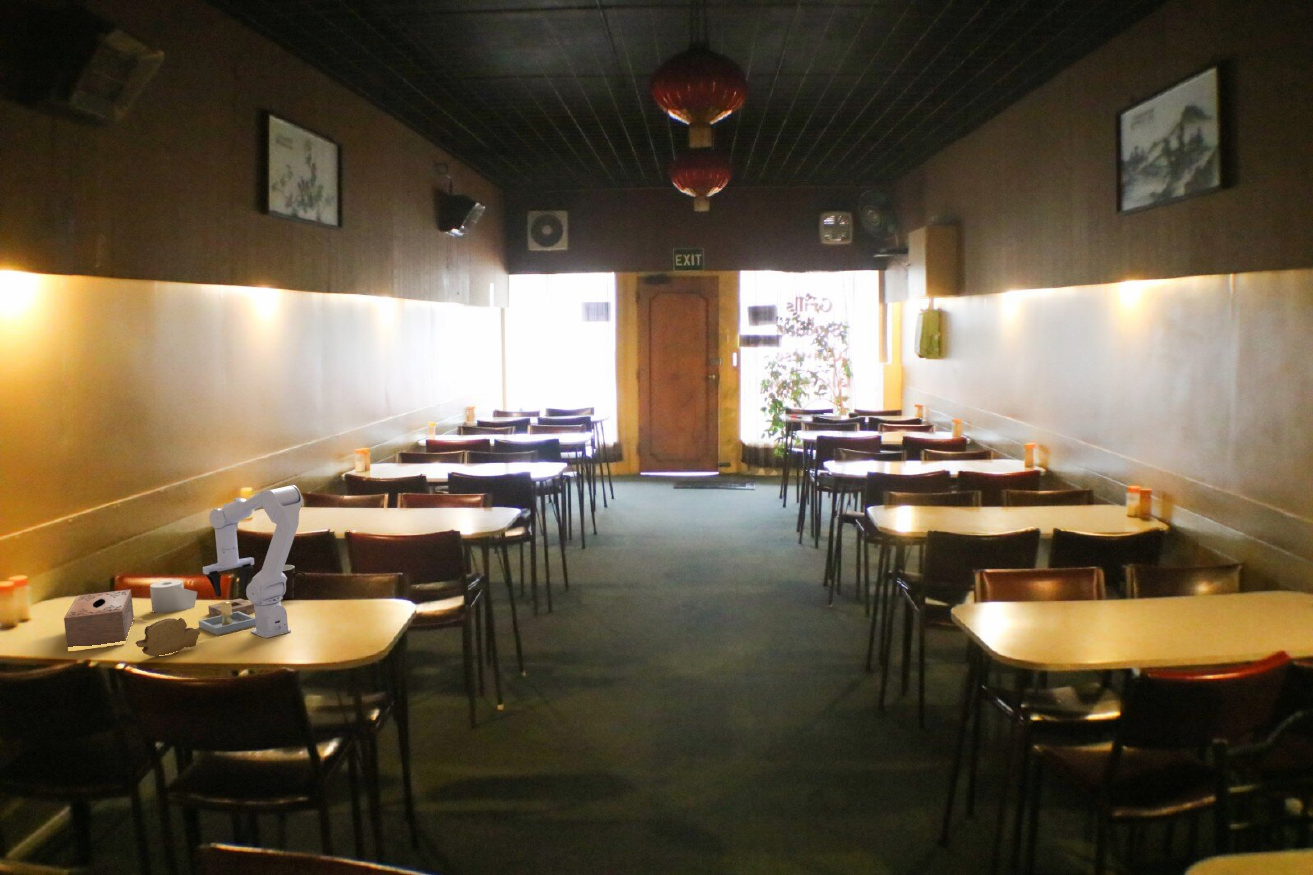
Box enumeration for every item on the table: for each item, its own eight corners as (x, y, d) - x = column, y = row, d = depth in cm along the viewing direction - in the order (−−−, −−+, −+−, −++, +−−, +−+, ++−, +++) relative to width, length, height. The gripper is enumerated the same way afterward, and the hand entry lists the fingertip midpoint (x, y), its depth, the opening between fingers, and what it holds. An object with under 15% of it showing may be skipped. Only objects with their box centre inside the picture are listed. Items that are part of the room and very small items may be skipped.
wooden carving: (194, 644, 294) (191, 610, 293) (202, 647, 291) (199, 612, 290) (134, 661, 282) (130, 624, 281) (141, 664, 279) (138, 627, 278)
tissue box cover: (125, 645, 297) (122, 611, 296) (67, 653, 292) (63, 618, 291) (134, 621, 321) (130, 589, 320) (80, 628, 316) (77, 595, 314)
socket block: (255, 613, 323) (254, 604, 323) (223, 621, 316) (222, 611, 316) (241, 607, 330) (240, 598, 330) (209, 615, 323) (208, 605, 323)
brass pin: (234, 625, 309) (232, 602, 308) (224, 628, 307) (222, 604, 306) (230, 623, 311) (228, 600, 311) (220, 626, 309) (218, 602, 309)
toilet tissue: (200, 608, 331) (197, 582, 330) (153, 616, 325) (151, 589, 324) (196, 602, 339) (194, 576, 338) (151, 609, 332) (148, 583, 331)
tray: (257, 626, 309) (256, 618, 309) (216, 636, 301) (215, 628, 301) (239, 619, 318) (238, 611, 317) (199, 629, 309) (198, 620, 309)
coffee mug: (262, 600, 338) (260, 570, 337) (283, 593, 345) (281, 564, 344) (289, 604, 332) (286, 573, 331) (309, 597, 340) (307, 567, 339)
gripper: (244, 541, 316) (248, 585, 318) (196, 550, 306) (200, 596, 307) (255, 544, 311) (259, 589, 313) (207, 554, 301) (211, 600, 303)
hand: (231, 593), depth 310 cm, fingers open, 7 cm apart
